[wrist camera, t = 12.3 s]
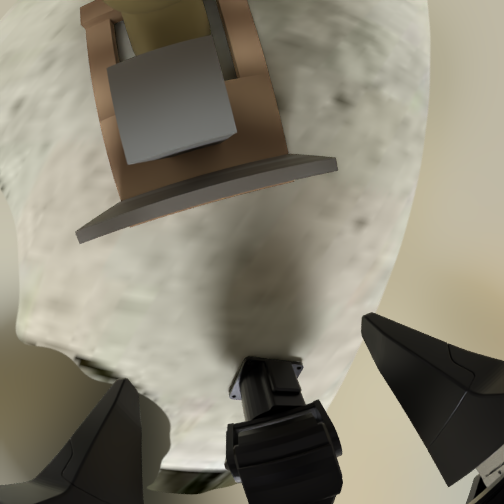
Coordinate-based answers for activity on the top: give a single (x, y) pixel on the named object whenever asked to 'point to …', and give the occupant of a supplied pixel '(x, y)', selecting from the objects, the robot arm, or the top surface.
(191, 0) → the tan rounded peg
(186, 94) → the wooden shape sorter tray
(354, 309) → the top surface
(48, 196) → the top surface
